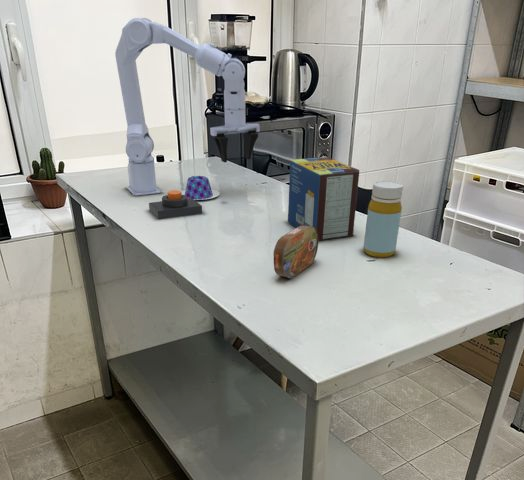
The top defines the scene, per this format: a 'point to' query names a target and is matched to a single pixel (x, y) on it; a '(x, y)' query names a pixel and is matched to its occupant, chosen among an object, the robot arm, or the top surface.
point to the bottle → (383, 219)
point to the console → (175, 207)
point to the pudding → (199, 188)
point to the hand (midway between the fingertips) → (236, 160)
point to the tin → (295, 251)
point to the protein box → (323, 196)
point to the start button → (174, 195)
